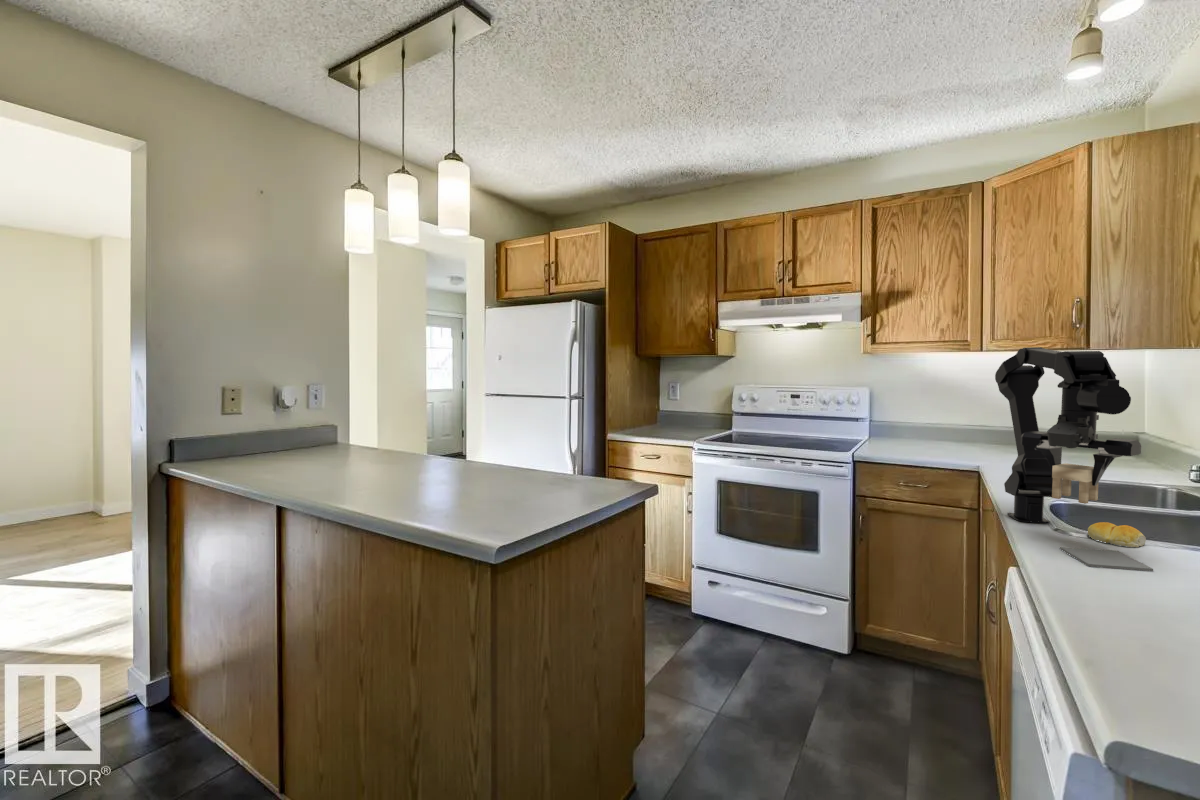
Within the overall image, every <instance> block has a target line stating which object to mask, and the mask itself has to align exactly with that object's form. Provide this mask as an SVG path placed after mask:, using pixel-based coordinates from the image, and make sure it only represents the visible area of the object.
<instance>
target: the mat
mask: <svg viewBox="0 0 1200 800" xmlns="http://www.w3.org/2000/svg"><path fill="white" fill-rule="evenodd" d="M1060 549H1061V550H1060ZM1059 550H1060V551H1062V550H1063V551H1062V552H1064V551H1065V552H1066V553H1065V552H1064V553H1065V554H1067V553H1068V554H1067V555H1069V554H1070V555H1071V556H1070V555H1069V556H1070V557H1072V556H1073V557H1075V558H1077V559H1078V560H1080V561H1081V562H1080V561H1079V562H1080V563H1082V564H1083V563H1084V564H1083V565H1085V564H1086V565H1085V566H1087V567H1088V566H1091V567H1090V568H1100V567H1103V569H1104V568H1105V569H1114V570H1115V569H1116V570H1129V571H1141V570H1142V571H1143V572H1154V568H1153V567H1151V566H1150V565H1147V564H1145V563H1143V562H1141V561H1139V560H1137V559H1135V558H1133V557H1131V556H1129V555H1128V554H1125V553H1124V552H1121V551H1120V550H1115V549H1114V550H1112V549H1111V550H1110V549H1098V548H1085V547H1084V548H1083V547H1081V548H1080V547H1068V546H1065V547H1064V546H1059ZM1073 557H1072V558H1073ZM1075 558H1074V559H1075ZM1077 559H1076V560H1077ZM1078 560H1077V561H1078Z"/></svg>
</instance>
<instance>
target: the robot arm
mask: <svg viewBox="0 0 1200 800" xmlns="http://www.w3.org/2000/svg"><path fill="white" fill-rule="evenodd" d="M1104 355H1105V354H1104V353H1103V351H1100V350H1074V351H1073V350H1070V351H1069V350H1067V351H1064V350H1063V351H1060V350H1054V349H1049V348H1048V349H1047V348H1044V347H1039V346H1037V347H1022V348H1019V349H1018V351H1017V352H1016V353H1015V355H1013V356H1011V357H1009V358H1008V359H1006V360H1004V361H1003V362H1002V363H1001V364H1000V366H999V367H998V369H997V370H996V372H995V374H994V378H995V382H996V383H997V387H998V392H999V393H1001V395H1002V396H1004V398H1006V399H1007V401H1008V404H1009V410H1010V416H1011V423H1012V427H1013V433H1014V438H1015V440H1014V441H1015V445H1016V451H1017V456H1016V459H1015V461H1014V462H1013V464H1012V466H1011V474H1010V475H1009V477H1007V479H1006V481H1005V482H1004V484H1003V485H1004V492H1005V493H1008V494H1009V495H1011V496H1013V497H1014V498H1013V500H1014V501H1013V512H1007V516H1009V517H1011V518H1012V519H1014V520H1016V521H1017V522H1020V523H1021V522H1023V523H1034V524H1035V523H1036V524H1037V523H1038V524H1039V523H1040V524H1050V523H1051V521H1050V520H1048V519H1046V518H1044V509H1045V508H1044V506H1045V505H1044V504H1045V503H1044V501H1045V498H1046V497H1047V498H1052V483H1053V477H1052V466H1054V465H1059V464H1062V454H1063V453H1062V452H1063V448H1064V447H1065V448H1067V449H1076V448H1084V449H1085V448H1086V449H1092V450H1093V449H1094V450H1098V451H1097V452H1098V453H1093V454H1092V456H1093V460H1094V463H1093V467H1094V469H1093V475H1092V485H1093V486H1096V485H1097V484H1098V485H1099V483H1100V480H1101V478H1102V477H1103V476H1104V474H1105V472H1106V470H1107V469H1108V467H1109V466H1111V464H1112V463H1113V462H1114V460H1115V459H1116V458H1121V457H1124V456H1125V457H1133V456H1137V455H1141V454H1142V444H1141V442H1140V441H1139V440H1138V439H1131V438H1130V439H1129V438H1128V439H1127V438H1120V437H1119V438H1118V437H1115V438H1109V439H1106V440H1099V439H1098V438H1099V434H1097V421H1098V420H1099V419H1100V416H1099V414H1106V415H1119V414H1122V413H1124V412H1125V411H1126V410H1127V409H1128V408H1129V407H1130V405H1131V402H1132V397H1131V396H1130V393H1129V391H1128V390H1127V389H1125V387H1122V386H1120V379H1117V378H1116V377H1117V375H1116V373H1115V372H1114V371H1113V369H1112V367H1111V365H1110V363H1109V361H1108V358H1107V357H1106V356H1104ZM1044 368H1045V369H1051V370H1053V373H1054V374H1055V375H1057V376H1059V377H1061V378H1062V379H1063V380H1062V381H1060V382H1058V384H1057V388H1059V389H1061V409H1060V414H1058V417H1057V421H1056V423H1055V424H1054V425H1052V426H1051V427H1050V428H1049V429H1048V430H1047V431H1039V430H1040V429H1039V424H1038V419H1037V414H1036V408H1035V402H1034V395H1035V394H1036V391H1037V390H1038V389H1039V386H1040V384H1039V383H1040V379H1041V378H1042V377H1043V376H1044V375H1045V370H1044ZM1098 413H1099V414H1098ZM1098 482H1099V483H1098Z"/></svg>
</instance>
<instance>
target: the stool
mask: <svg viewBox="0 0 1200 800" xmlns="http://www.w3.org/2000/svg"><path fill="white" fill-rule="evenodd" d="M1093 469H1094V466H1091V465H1083V464H1074V463H1066V462H1064V463H1061V464H1059V465H1054V466H1052V477H1053V483H1052V497H1051V498H1052V499H1057V500H1061V499H1062V496H1065V497H1070V496H1072V481H1075V482H1078V486H1079V487H1078V488H1079V489H1078V503H1080V504H1086V505H1087V504H1089V501H1093V502H1094V501H1098V500H1099V498H1098V497H1099V483H1100V481H1099V482H1098V484H1097V485H1096V486H1093V485H1092V475H1093Z"/></svg>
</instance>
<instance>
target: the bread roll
mask: <svg viewBox="0 0 1200 800" xmlns="http://www.w3.org/2000/svg"><path fill="white" fill-rule="evenodd" d="M1087 535H1089V536H1090V537H1091V538H1092V539H1091V538H1090V537H1089V536H1088V537H1089V538H1090V539H1091V540H1093V539H1095V540H1099V541H1102V542H1106V543H1105V544H1107V543H1110V545H1112V544H1115V545H1121V546H1127V547H1126V548H1131V547H1136V548H1140V547H1139V546H1141V547H1143V546H1144V545H1145V544H1146V541H1147V538H1146V536H1145V535H1144V534H1143V533H1142V532H1141V531H1140V530H1138V529H1137V528H1135V527H1133V526H1130V525H1127V524H1124V525H1123V524H1122V525H1116V524H1114V523H1111V522H1107V521H1104V522H1103V521H1100V522H1095V523H1093V524H1090V525H1089V527H1087ZM1095 540H1094V541H1095ZM1102 542H1101V543H1102ZM1115 545H1114V546H1115ZM1121 546H1120V547H1121Z"/></svg>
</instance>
